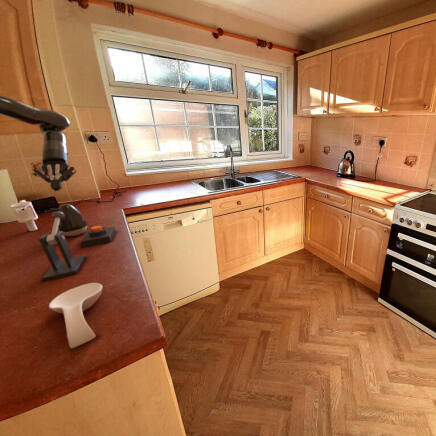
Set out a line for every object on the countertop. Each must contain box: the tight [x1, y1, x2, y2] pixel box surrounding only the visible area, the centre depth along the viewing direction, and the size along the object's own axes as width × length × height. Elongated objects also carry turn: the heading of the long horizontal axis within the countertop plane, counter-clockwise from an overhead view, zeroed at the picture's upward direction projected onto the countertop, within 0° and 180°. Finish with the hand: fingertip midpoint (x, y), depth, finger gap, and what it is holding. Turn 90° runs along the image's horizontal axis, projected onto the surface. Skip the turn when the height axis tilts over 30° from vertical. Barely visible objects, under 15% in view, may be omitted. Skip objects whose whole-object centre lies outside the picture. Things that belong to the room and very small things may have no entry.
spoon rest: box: [48, 282, 103, 349], centre depth 65 cm, size 24×12×7 cm, turn 42°
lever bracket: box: [38, 230, 87, 282], centre depth 86 cm, size 12×9×14 cm
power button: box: [90, 225, 102, 232], centre depth 109 cm, size 4×4×2 cm
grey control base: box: [80, 226, 116, 248], centre depth 110 cm, size 12×10×4 cm
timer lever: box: [46, 211, 64, 246], centre depth 88 cm, size 15×3×3 cm, turn 28°
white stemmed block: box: [10, 199, 39, 232], centre depth 121 cm, size 7×7×15 cm
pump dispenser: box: [49, 203, 88, 237], centre depth 114 cm, size 10×10×15 cm
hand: (56, 189), depth 94 cm, fingers closed
